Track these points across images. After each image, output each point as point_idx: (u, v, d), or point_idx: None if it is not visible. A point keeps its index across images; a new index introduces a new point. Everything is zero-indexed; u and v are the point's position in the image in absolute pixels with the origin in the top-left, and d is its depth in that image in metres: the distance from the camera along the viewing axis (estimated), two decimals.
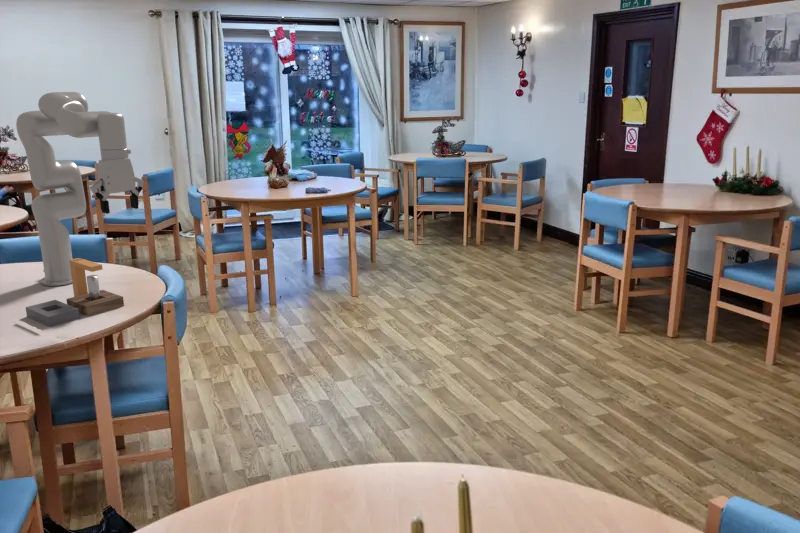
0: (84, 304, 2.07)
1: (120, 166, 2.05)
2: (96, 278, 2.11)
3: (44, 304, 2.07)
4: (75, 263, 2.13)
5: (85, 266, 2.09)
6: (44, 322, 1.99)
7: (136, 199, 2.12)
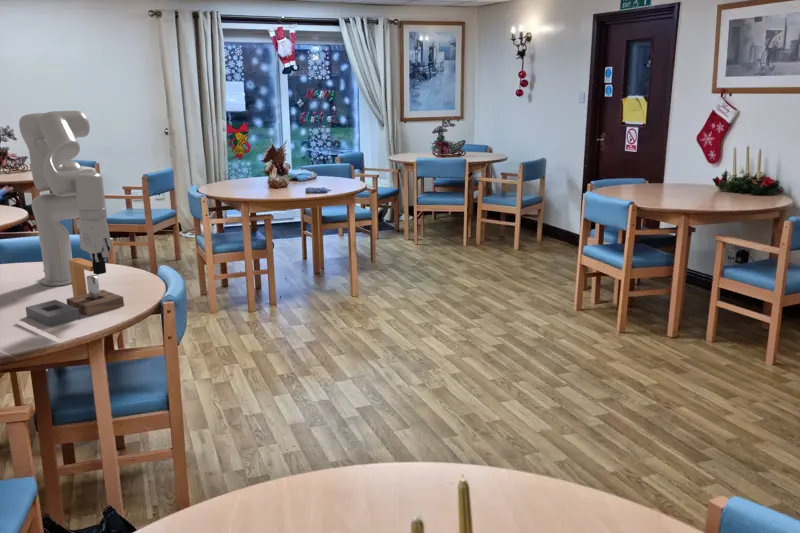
0: (84, 304, 2.07)
1: None
2: (96, 278, 2.11)
3: (44, 304, 2.07)
4: (74, 263, 2.13)
5: (84, 266, 2.10)
6: (44, 322, 1.99)
7: None
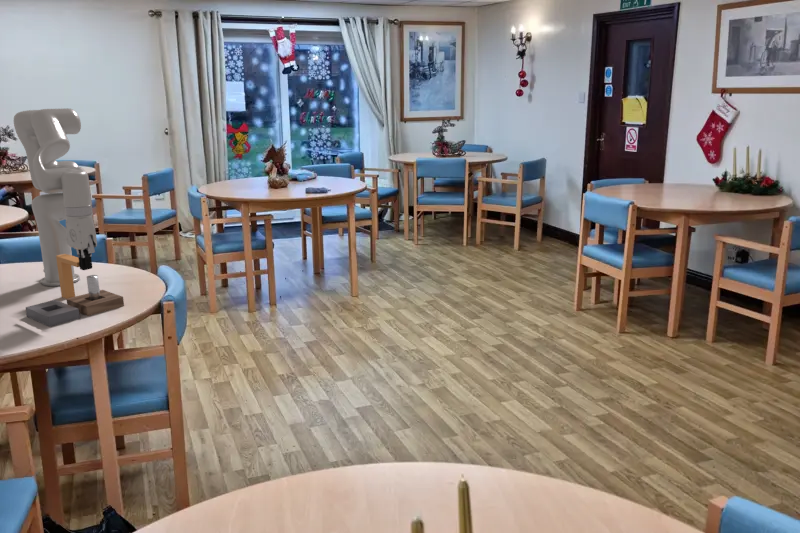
0: (84, 304, 2.07)
1: None
2: (96, 278, 2.11)
3: (44, 304, 2.07)
4: (61, 259, 2.18)
5: (71, 262, 2.14)
6: (44, 322, 1.99)
7: None
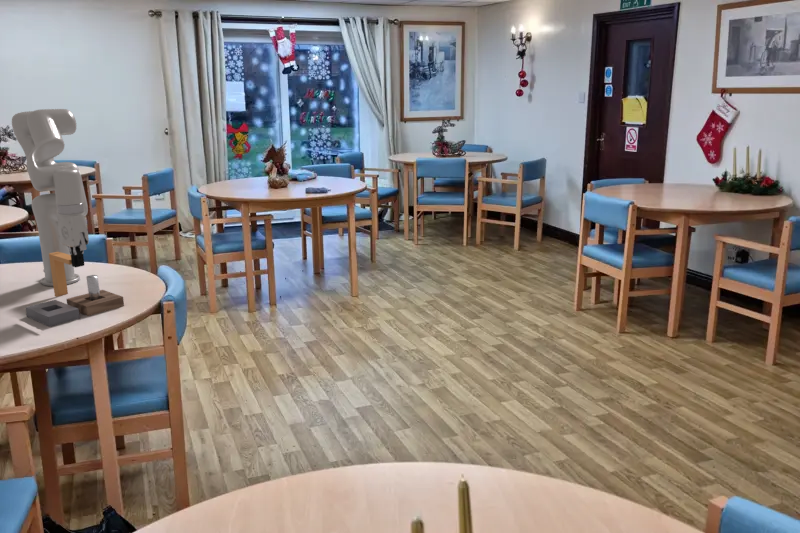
0: (84, 304, 2.07)
1: None
2: (96, 278, 2.11)
3: (44, 304, 2.07)
4: (54, 256, 2.20)
5: (63, 259, 2.17)
6: (44, 322, 1.99)
7: None
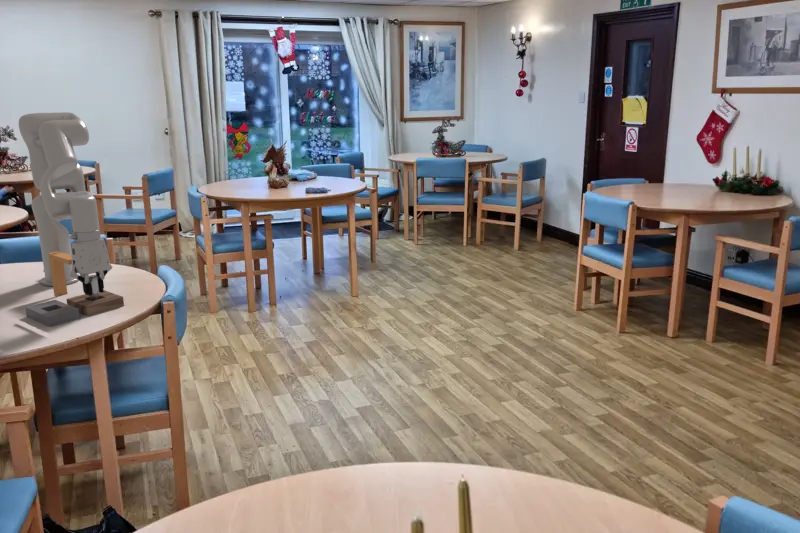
0: (84, 304, 2.07)
1: None
2: (96, 278, 2.11)
3: (44, 304, 2.07)
4: (54, 256, 2.21)
5: (63, 259, 2.17)
6: (44, 322, 1.99)
7: None
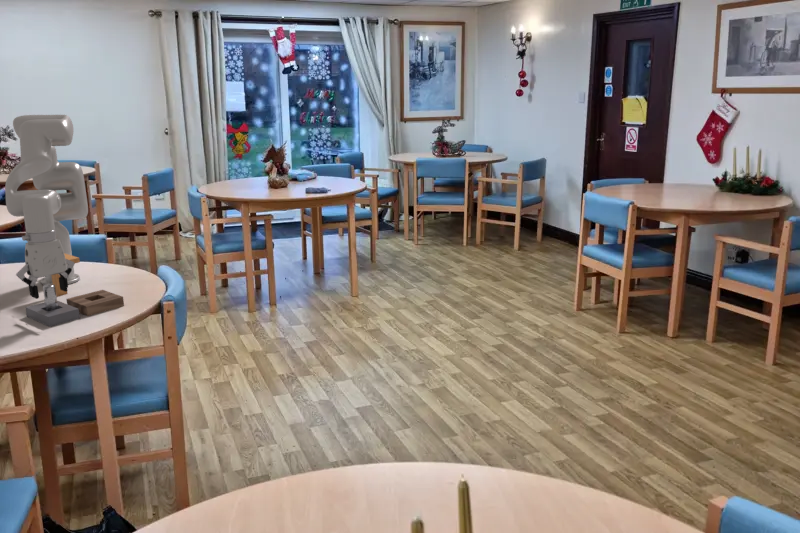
0: (84, 304, 2.07)
1: None
2: (53, 288, 2.02)
3: (44, 304, 2.07)
4: None
5: None
6: (44, 322, 1.99)
7: None
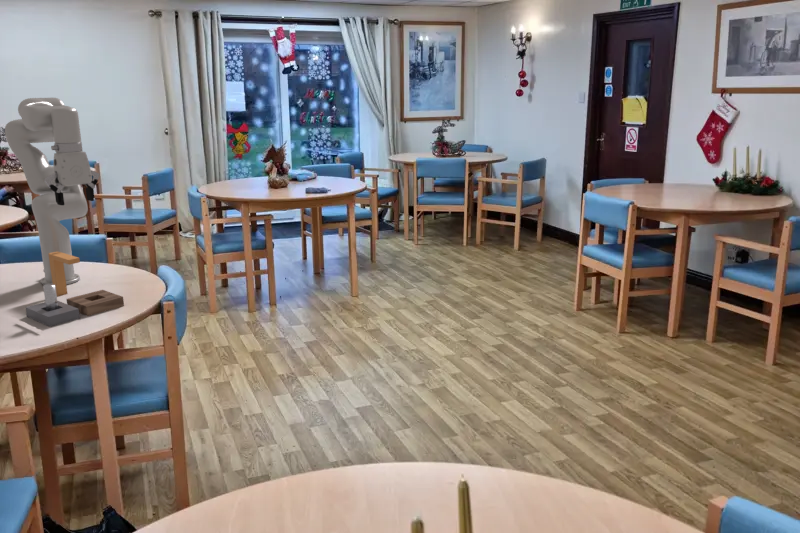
0: (84, 304, 2.07)
1: None
2: (53, 287, 2.02)
3: (44, 304, 2.07)
4: (54, 256, 2.21)
5: (63, 259, 2.17)
6: (44, 322, 1.99)
7: None
